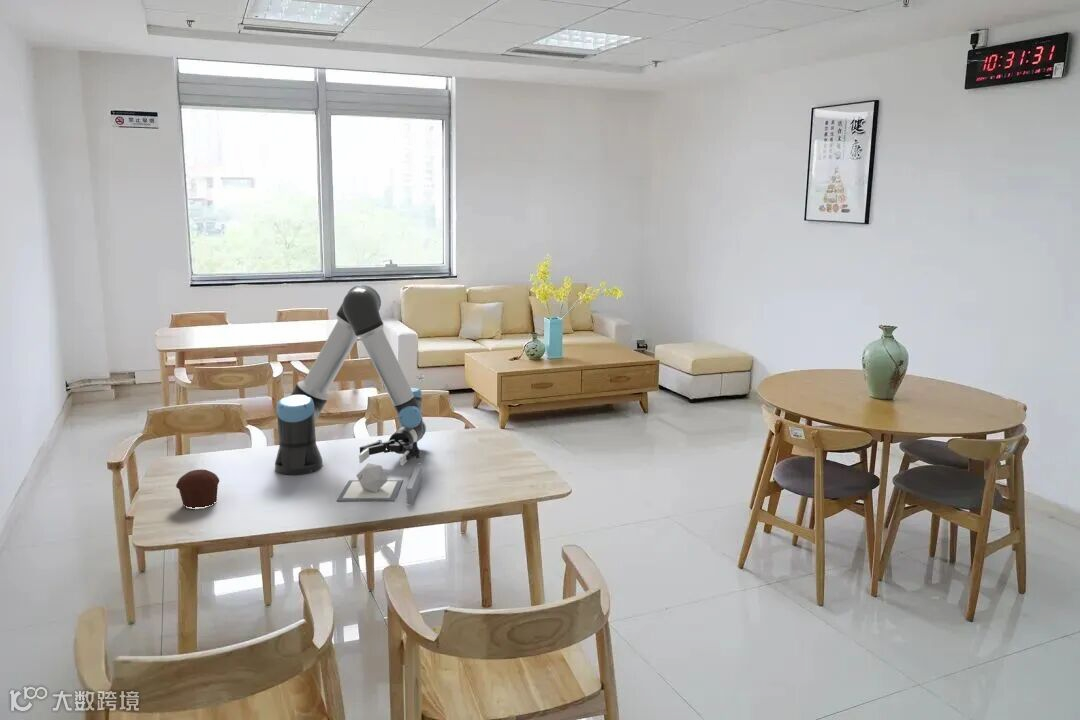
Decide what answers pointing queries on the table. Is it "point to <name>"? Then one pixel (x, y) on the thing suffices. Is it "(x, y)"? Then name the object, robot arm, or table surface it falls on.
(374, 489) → the die
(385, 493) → the mat
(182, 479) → the muffin
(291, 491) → the table surface
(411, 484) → the low wall
